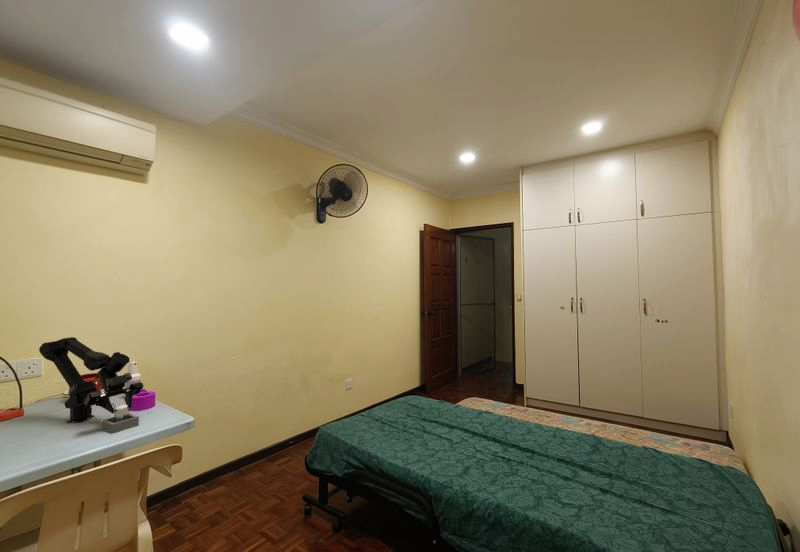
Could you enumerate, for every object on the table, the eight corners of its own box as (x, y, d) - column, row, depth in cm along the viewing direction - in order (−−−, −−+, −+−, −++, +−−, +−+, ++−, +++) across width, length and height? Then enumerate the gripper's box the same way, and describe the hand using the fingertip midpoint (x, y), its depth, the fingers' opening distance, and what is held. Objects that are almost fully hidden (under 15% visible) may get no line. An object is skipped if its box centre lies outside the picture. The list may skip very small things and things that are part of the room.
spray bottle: (131, 399, 177) (131, 363, 177) (120, 398, 178) (120, 363, 178) (143, 395, 183) (144, 361, 184) (133, 394, 185) (133, 360, 185)
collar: (101, 429, 141) (101, 420, 141) (127, 421, 149) (127, 412, 149) (112, 433, 136) (112, 424, 136) (138, 425, 144) (138, 416, 144)
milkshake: (116, 425, 144) (116, 401, 145) (130, 424, 145) (130, 400, 145) (108, 429, 140) (108, 404, 140) (122, 429, 140) (122, 404, 141)
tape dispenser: (158, 407, 166) (158, 394, 166) (132, 413, 158) (132, 399, 159) (148, 400, 176) (148, 387, 176) (123, 405, 169) (123, 392, 169)
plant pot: (82, 395, 183) (82, 373, 183) (109, 394, 185) (109, 372, 185) (61, 404, 170) (61, 379, 170) (90, 403, 172) (90, 378, 172)
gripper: (88, 372, 137) (100, 405, 131) (141, 363, 153) (154, 392, 147) (79, 390, 140) (90, 422, 135) (132, 378, 157) (145, 407, 151)
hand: (122, 410), depth 142 cm, fingers open, 6 cm apart
